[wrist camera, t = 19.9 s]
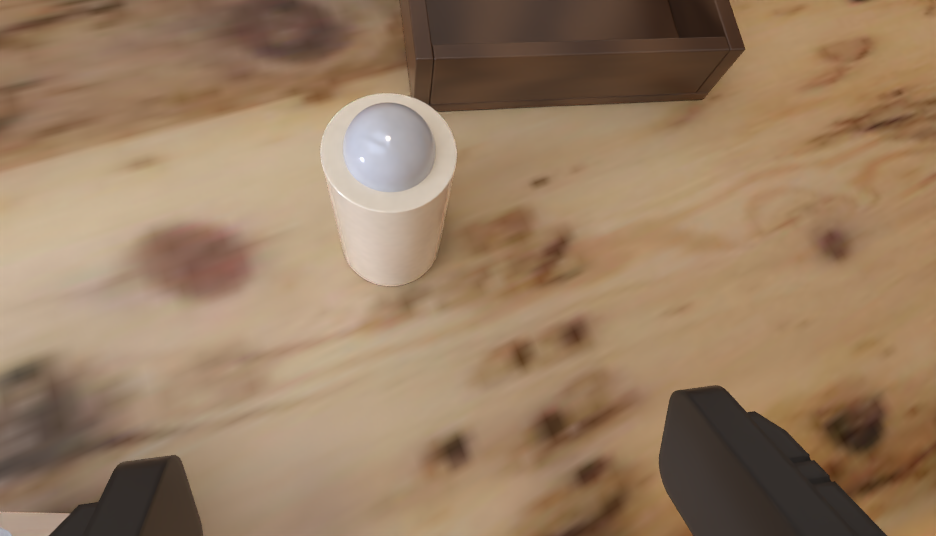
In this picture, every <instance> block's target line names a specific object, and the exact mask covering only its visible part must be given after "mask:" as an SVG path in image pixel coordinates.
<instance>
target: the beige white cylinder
mask: <svg viewBox="0 0 936 536" xmlns="http://www.w3.org/2000/svg"><path fill="white" fill-rule="evenodd" d="M70 514H71V513H31V512H0V536H49V535H50V534H51V533H52V532H53V531H54V530H55V529H56V528H57V527H58V526H59V525H60V524H61V523H62V522H63V521H64V520H65V519H66V518H67V517H68V516H69V515H70Z"/></svg>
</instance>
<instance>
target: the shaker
mask: <svg viewBox="0 0 936 536" xmlns="http://www.w3.org/2000/svg"><path fill="white" fill-rule="evenodd" d="M320 156H321V163H322V167H323V171H324V175H325V179H326V183H327V188H328V192H329V196H330V200H331V204H332V208H333V212H334V216H335V220H336V224H337V229H338V233H339V237H340V241H341V245H342V249H343V253H344V256H345V258H346V260H347V262H348V264H349V265H350V267H351V268H352V269H353V270H354V271H355V272H356V273H357V274H358V275H359V276H361V277H362V278H364V279H365V280H367V281H369V282H371V283H374V284H377V285H382V286H399V285H404V284H408V283H410V282H412V281H415V280H416V279H418V278H420V277H421V276H422V275H424V274H425V273H426V272H427V271H428V270H429V269H430V267H431V266H432V265H433V263H434V261H435V259H436V257H437V254H438V250H439V245H440V241H441V236H442V231H443V226H444V221H445V216H446V212H447V207H448V202H449V197H450V192H451V187H452V183H453V178H454V173H455V168H456V163H457V147H456V142H455V138H454V136H453V133H452V131H451V129H450V127H449V125H448V124H447V123H446V121H445V120H444V119H443V117H442V116H441V115H440V114H439V113H438V112H437V111H435V110H434V109H433V108H432V107H430V106H429V105H427V104H426V103H424V102H422V101H420V100H418V99H415V98H412V97H410V96H406V95H402V94H394V93H380V94H373V95H368V96H365V97H362V98H359V99H357V100H355V101H353V102H351V103H349V104H347V105H346V106H344V107H343V108H342V109H341V110H340V111H338V112H337V113H336V115H335V116H334V117H333V118H332V119H331V121H330V122H329V124H328V125H327V127H326V129H325V131H324V134H323V137H322V141H321V147H320Z"/></svg>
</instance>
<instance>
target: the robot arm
mask: <svg viewBox="0 0 936 536" xmlns="http://www.w3.org/2000/svg"><path fill="white" fill-rule="evenodd" d="M809 456H810V455H809V454H808V453H807V452H806V451H805V450H804V449H803V448H802V447H801V446H800V445H799V444H798V443H797V442H796V441H795V440H794V439H793V438H792V437H791V436H790V435H789V434H788V433H787V432H786V431H785V430H784V429H782V428H781V427H779V426H777V425H776V424H774V423H772V422H771V421H769V420H768V419H766V418H764V417H763V416H761V415H760V414H758V413H756V412H755V411H754V412H746V411H745V410H744V409H743V408H742V407H741V406H740V405H739V403H738V402H737V401H736V400H735V399H734V398H733V397H732V396H731V395H730V394H729V393H728V392H727V391H726V390H725V389H724V388H723V387H721V386H717V385H715V386H707V387H699V388H692V389H684V390H677V391H675V392H673V394H672V395H671V397H670V400H669V405H668V411H667V416H666V421H665V427H664V432H663V438H662V443H661V448H660V454H659V469H660V474H661V478H662V482H663V485H664V487H665V489H666V492H667V493H668V495H669V497H670V499H671V500H672V502H673V503H674V505H675V507H676V508H677V510H678V512H679V513H680V515H681V516H682V518H683V520H684V521H685V523H686V525H687V526H688V528H689V529H690V531H691V533H692V534H693V536H887V535H886V534H885V533H884V532H883V531H882V530H881V529H880V528H879V527H878V526H877V525H876V524H875V523H874V522H873V521H872V520H871V519H870V518H869V516H868V515H867V514H866V513H865V512H864V511H863V510H862V509H861V508H860V507H859V506H858V505H857V504H856V503H855V502H854V501H853V500H852V499H851V498H850V497H849V496H848V495H847V494H846V493H845V492H844V491H843V490H842V488H841V487H840V486H839V485H838V484H837V483H836V482H835V481H834V482H831V481H830V478H829V475H828V474H827V473H826V472H825V471H824V470H823V469H822V468H821V467H820V466H819V465H818V464H817V463H816V462H815V461H814V460H813V461H811V460H810V457H809ZM49 536H203V530H202V524H201V521H200V517H199V514H198V511H197V508H196V505H195V502H194V498H193V495H192V492H191V489H190V486H189V483H188V479H187V476H186V473H185V470H184V467H183V464H182V461H181V460H180V458H179V457H178V456H176V455H171V456H164V457H156V458H149V459H141V460H133V461H126V462H122V463H120V464H119V465H117V467H116V468H115V469H114V471H113V473H112V475H111V477H110V479H109V481H108V483H107V485H106V487H105V489H104V492H103V494H102V496H101V498H100V500H99V502H96V503H89V504H82V505H78V506H77V507H76V508H75V510H74V511H73V512H72V513H71V514H70V515H69V516H68V517H67V518H66V519H65V520H64V521H63V522H62V523H61V524H60V525H59V526H58V527H57V528H56V529H55V530H54V531H53V532H52V533H51V534H50V535H49Z"/></svg>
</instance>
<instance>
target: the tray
mask: <svg viewBox="0 0 936 536" xmlns="http://www.w3.org/2000/svg"><path fill="white" fill-rule="evenodd" d="M400 8H401V16H402V25H403V33H404V41H405V50H406V58H407V67H408V75H409V84H410V92H411V97H412V98H415V99H418V100H420V101H422V102H424V103H426V104H427V105H429V106H430V107H432V108H433V109H434V110H435V111H454V110H476V109H498V108H520V107H542V106H564V105H586V104H608V103H631V102H653V101H675V100H697V99H704V98H705V96H706V95H707V94H708V92H709V91H710V90H711V89H712V88H713V87H714V86H715V84H716V83H717V82H718V81H719V80H720V79H721V77H722V76H723V75H724V74H725V73H726V71H727V70H728V69H729V68H730V67H731V66H732V64H733V63H734V62H735V61H736V60H737V58H738V57H739V56H740V55H741V54H742V53H743V51H744V50H745V47H744V44H743V41H742V38H741V35H740V32H739V29H738V26H737V23H736V20H735V17H734V14H733V11H732V8H731V5H730V2H729V0H400Z"/></svg>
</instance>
